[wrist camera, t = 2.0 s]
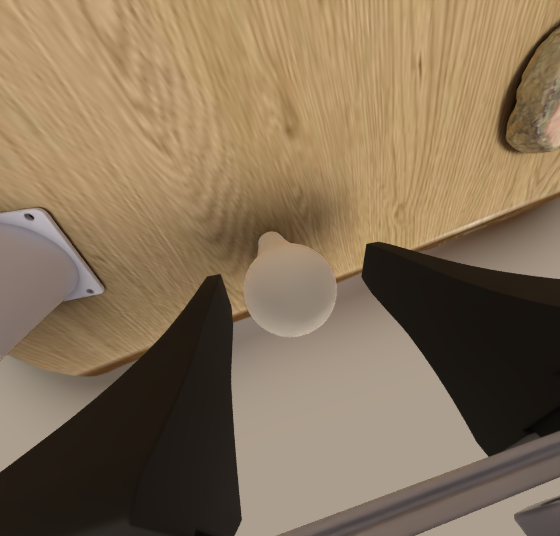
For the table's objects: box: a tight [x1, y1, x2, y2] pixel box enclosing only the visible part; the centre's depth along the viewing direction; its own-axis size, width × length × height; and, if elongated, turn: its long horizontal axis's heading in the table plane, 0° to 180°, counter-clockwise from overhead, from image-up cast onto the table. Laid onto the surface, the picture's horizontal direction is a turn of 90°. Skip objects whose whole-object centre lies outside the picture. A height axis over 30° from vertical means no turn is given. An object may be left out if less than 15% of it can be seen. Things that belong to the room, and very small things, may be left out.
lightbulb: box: [243, 231, 337, 337], centre depth 15 cm, size 6×6×11 cm
